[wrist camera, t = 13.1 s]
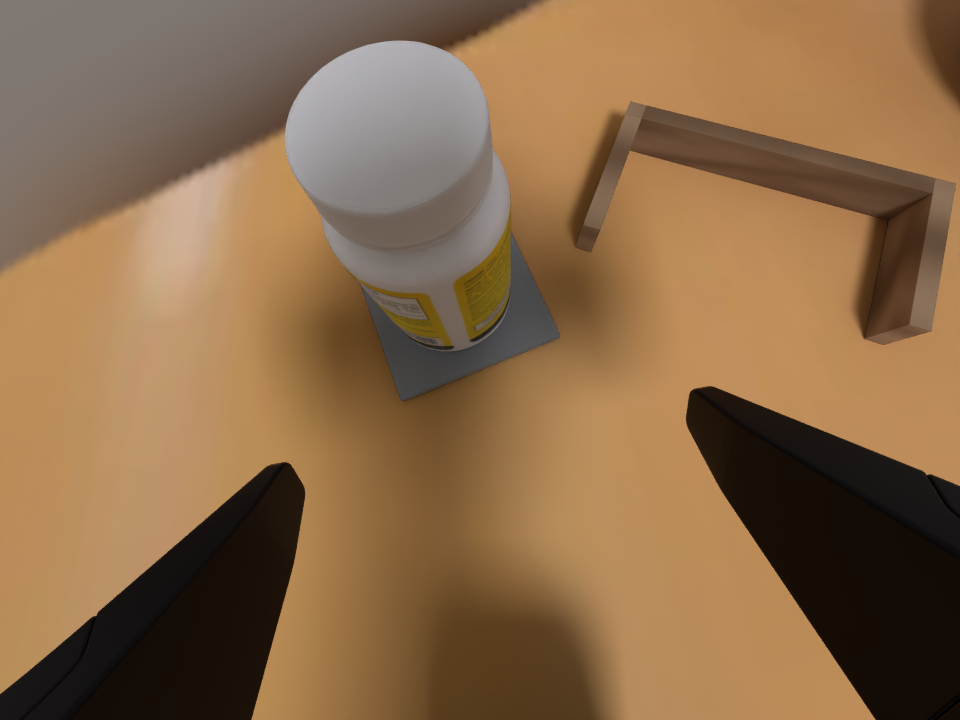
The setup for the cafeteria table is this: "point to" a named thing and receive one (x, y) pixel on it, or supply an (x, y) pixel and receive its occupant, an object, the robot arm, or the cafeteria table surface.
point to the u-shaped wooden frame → (814, 175)
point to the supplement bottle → (409, 187)
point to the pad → (512, 337)
